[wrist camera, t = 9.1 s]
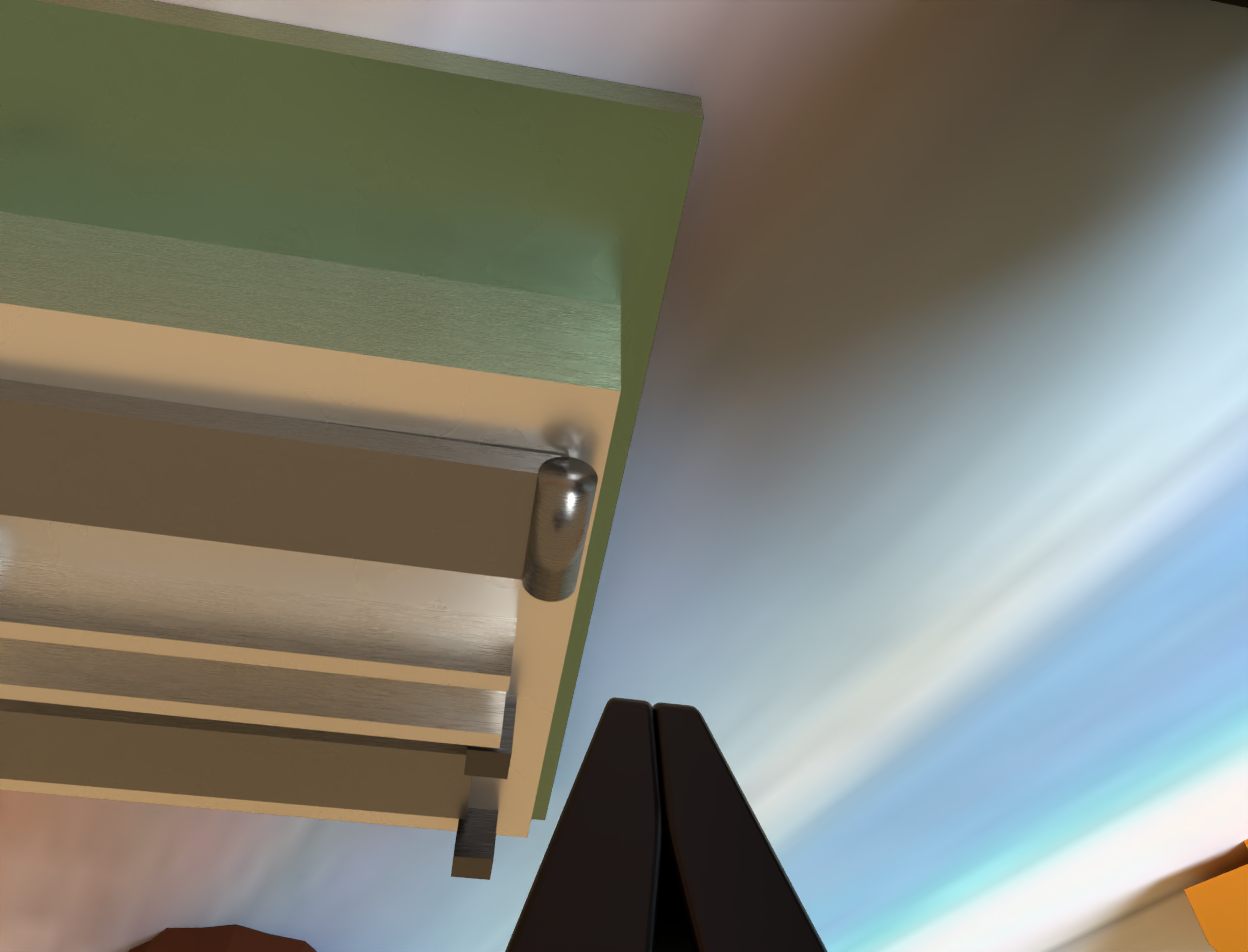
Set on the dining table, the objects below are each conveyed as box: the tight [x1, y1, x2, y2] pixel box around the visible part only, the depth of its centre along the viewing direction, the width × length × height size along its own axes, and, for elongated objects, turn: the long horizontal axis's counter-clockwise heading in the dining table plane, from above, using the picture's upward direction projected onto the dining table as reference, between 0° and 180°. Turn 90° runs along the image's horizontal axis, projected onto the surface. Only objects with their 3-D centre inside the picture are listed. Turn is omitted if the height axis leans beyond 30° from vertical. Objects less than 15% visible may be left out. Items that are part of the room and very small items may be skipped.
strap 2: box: [0, 698, 472, 819], centre depth 24 cm, size 13×3×1 cm, turn 80°
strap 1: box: [0, 379, 598, 602], centre depth 19 cm, size 12×3×1 cm, turn 80°
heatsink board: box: [0, 0, 704, 880], centre depth 23 cm, size 16×23×6 cm
